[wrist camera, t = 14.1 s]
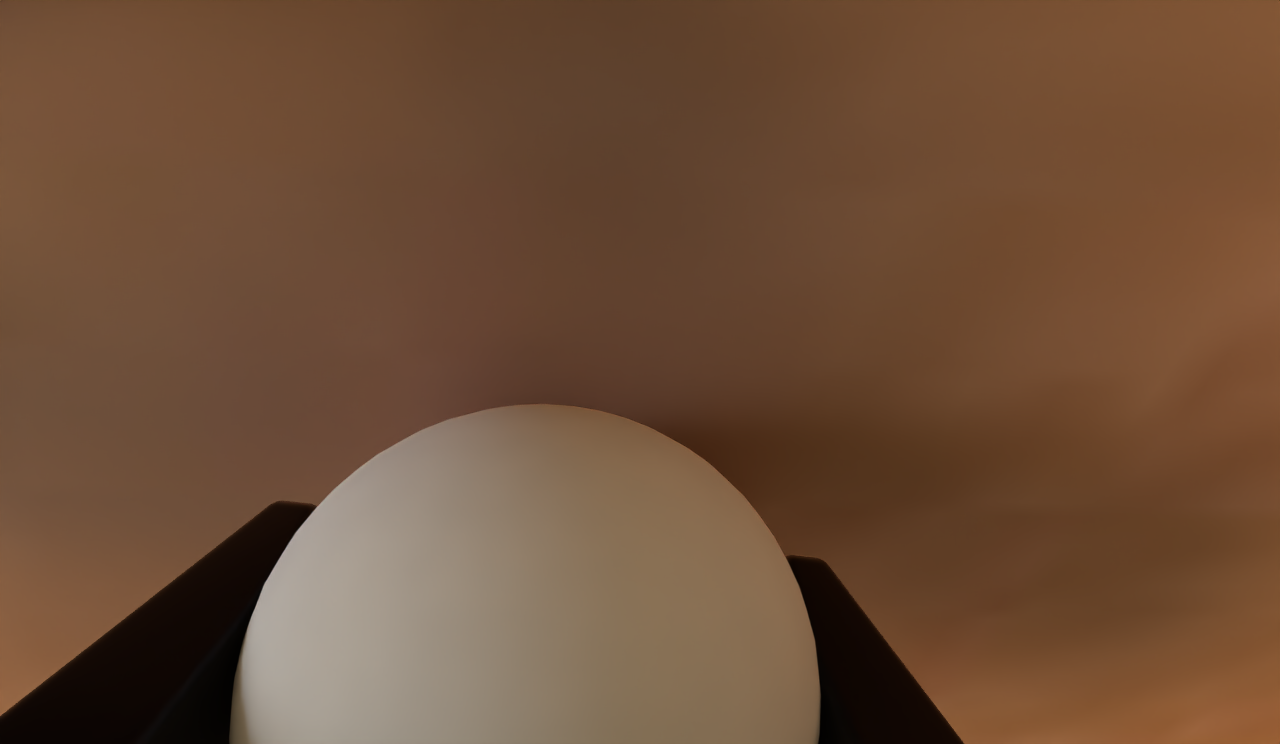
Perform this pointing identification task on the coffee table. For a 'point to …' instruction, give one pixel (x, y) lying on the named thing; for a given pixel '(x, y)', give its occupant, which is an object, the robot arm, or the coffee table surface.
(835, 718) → the robot arm
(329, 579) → the cream ball
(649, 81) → the coffee table surface
